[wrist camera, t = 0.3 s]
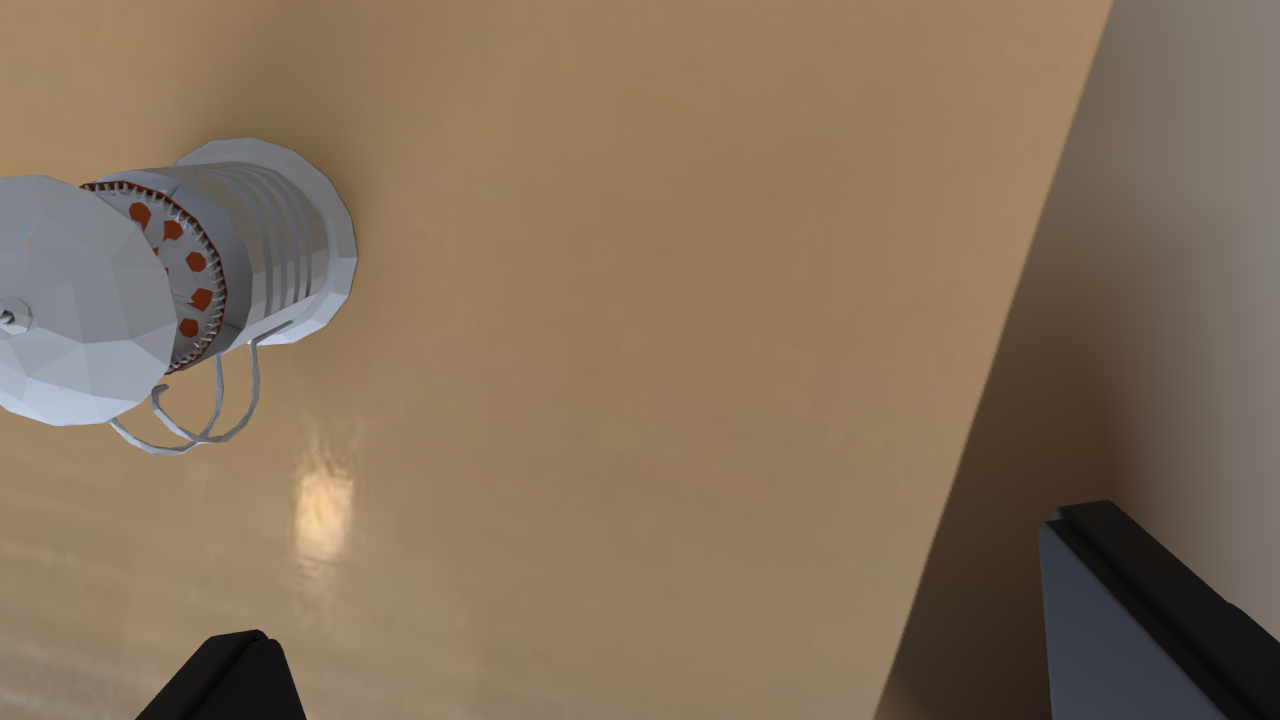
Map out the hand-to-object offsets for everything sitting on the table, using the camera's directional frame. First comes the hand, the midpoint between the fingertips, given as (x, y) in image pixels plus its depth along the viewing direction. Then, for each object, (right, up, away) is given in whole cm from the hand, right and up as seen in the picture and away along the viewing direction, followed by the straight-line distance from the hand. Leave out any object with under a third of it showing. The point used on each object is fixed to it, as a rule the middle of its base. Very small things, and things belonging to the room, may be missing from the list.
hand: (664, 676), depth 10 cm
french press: (-18, +8, +30) cm, 36 cm away
